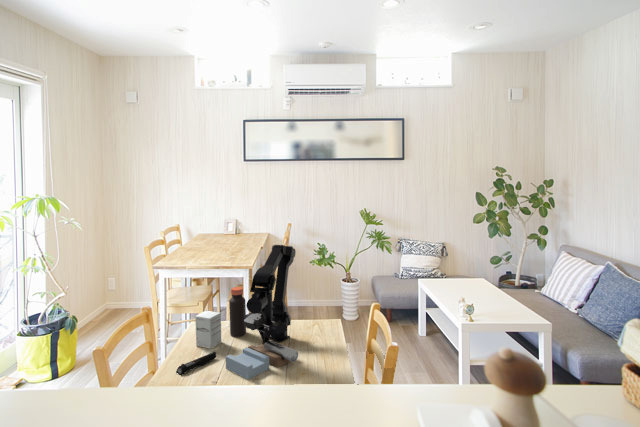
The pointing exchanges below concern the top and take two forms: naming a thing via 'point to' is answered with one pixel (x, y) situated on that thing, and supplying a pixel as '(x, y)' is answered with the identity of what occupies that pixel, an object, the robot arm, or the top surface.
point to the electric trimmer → (195, 363)
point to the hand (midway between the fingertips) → (265, 344)
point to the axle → (281, 350)
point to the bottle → (237, 312)
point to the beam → (270, 356)
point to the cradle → (247, 363)
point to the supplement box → (208, 329)
